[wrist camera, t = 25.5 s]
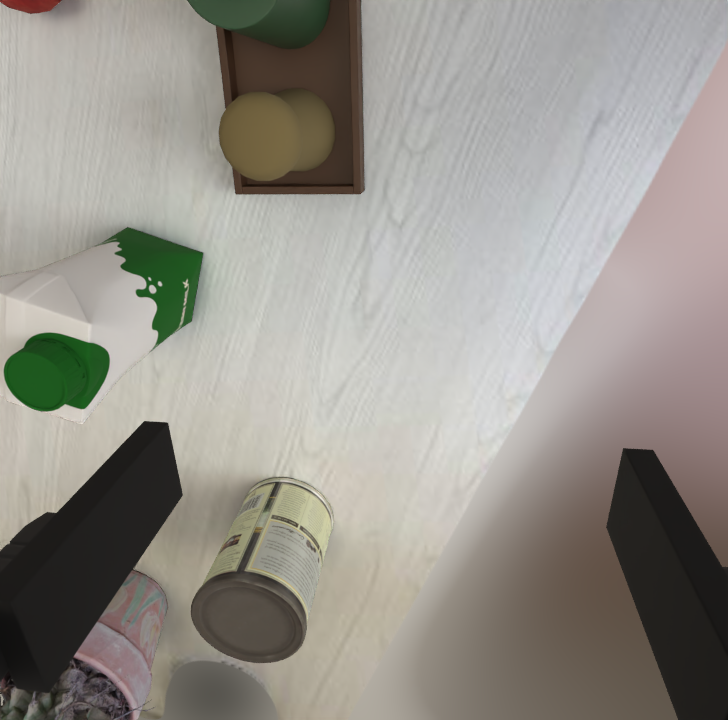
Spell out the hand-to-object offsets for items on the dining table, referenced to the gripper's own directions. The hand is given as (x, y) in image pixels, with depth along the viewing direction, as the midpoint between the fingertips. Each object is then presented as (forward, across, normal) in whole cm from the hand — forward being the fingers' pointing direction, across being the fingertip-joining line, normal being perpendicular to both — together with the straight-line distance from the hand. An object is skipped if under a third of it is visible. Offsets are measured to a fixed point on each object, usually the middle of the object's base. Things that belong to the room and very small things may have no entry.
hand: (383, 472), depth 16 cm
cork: (+32, -10, +8) cm, 35 cm away
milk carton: (+33, -24, -4) cm, 41 cm away
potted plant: (+32, -35, -46) cm, 66 cm away
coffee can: (+33, -14, -31) cm, 47 cm away
